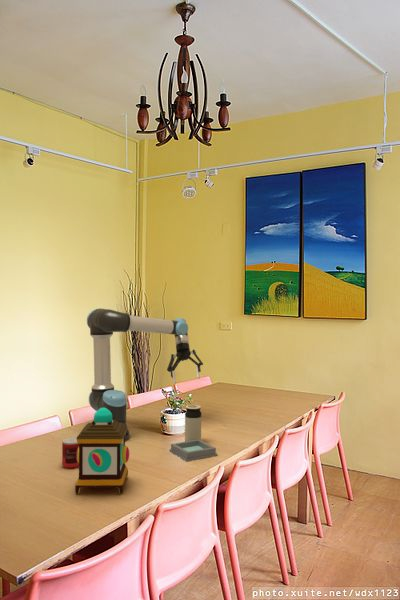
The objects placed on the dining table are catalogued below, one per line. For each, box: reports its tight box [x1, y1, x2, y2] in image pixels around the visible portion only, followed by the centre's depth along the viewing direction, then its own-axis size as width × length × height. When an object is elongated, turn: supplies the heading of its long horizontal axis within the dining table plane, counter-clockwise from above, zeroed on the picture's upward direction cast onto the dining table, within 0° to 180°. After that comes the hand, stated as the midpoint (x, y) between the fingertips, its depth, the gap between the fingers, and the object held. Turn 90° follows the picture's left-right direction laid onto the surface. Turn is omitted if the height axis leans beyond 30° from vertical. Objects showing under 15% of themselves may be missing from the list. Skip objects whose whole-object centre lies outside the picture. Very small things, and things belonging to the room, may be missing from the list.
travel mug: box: [184, 404, 202, 442], centre depth 247 cm, size 8×8×18 cm
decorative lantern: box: [74, 408, 130, 495], centre depth 192 cm, size 20×20×30 cm
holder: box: [169, 439, 218, 462], centre depth 231 cm, size 16×16×4 cm
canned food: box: [61, 437, 79, 470], centre depth 214 cm, size 8×8×11 cm
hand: (186, 380), depth 276 cm, fingers open, 13 cm apart
